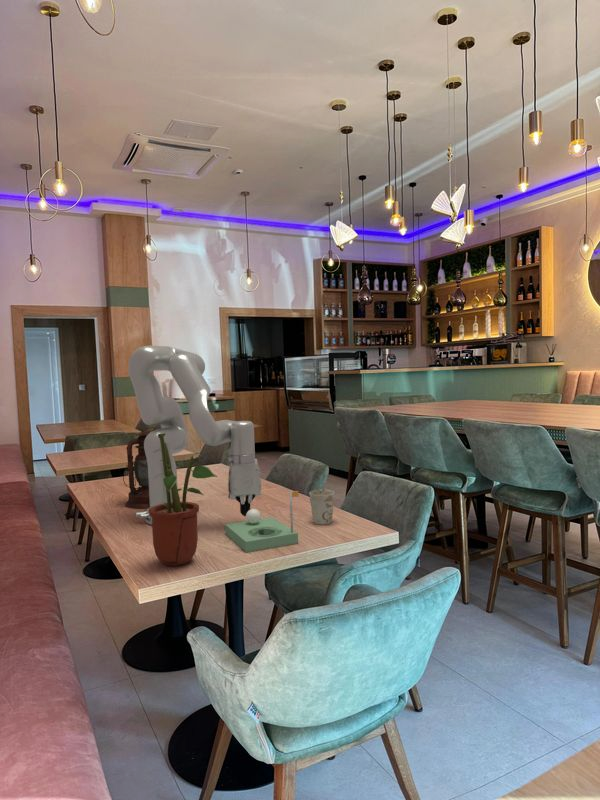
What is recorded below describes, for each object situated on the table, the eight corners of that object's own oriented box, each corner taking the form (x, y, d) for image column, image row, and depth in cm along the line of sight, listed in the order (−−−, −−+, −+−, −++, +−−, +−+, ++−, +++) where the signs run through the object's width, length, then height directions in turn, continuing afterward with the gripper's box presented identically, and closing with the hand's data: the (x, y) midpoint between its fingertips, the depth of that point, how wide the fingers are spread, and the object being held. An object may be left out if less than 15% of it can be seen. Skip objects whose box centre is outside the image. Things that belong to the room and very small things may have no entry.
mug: (317, 527, 177) (317, 496, 176) (299, 518, 188) (298, 489, 188) (340, 523, 181) (339, 493, 180) (321, 514, 192) (320, 486, 191)
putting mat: (246, 552, 155) (244, 499, 154) (225, 533, 173) (223, 486, 172) (302, 542, 162) (301, 492, 161) (276, 525, 180) (275, 480, 179)
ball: (248, 526, 170) (248, 511, 169) (244, 522, 174) (243, 508, 173) (263, 524, 171) (262, 509, 171) (257, 520, 176) (257, 506, 175)
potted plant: (155, 574, 140) (149, 437, 138) (146, 556, 154) (140, 431, 152) (222, 563, 147) (217, 432, 145) (207, 546, 161) (203, 427, 159)
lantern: (159, 494, 230) (156, 423, 228) (184, 501, 216) (181, 425, 214) (116, 503, 216) (112, 427, 215) (140, 511, 203) (136, 430, 201)
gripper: (224, 463, 172) (226, 521, 173) (269, 458, 178) (271, 514, 179) (217, 460, 179) (219, 515, 180) (260, 455, 185) (262, 509, 186)
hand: (245, 515), depth 180 cm, fingers closed
